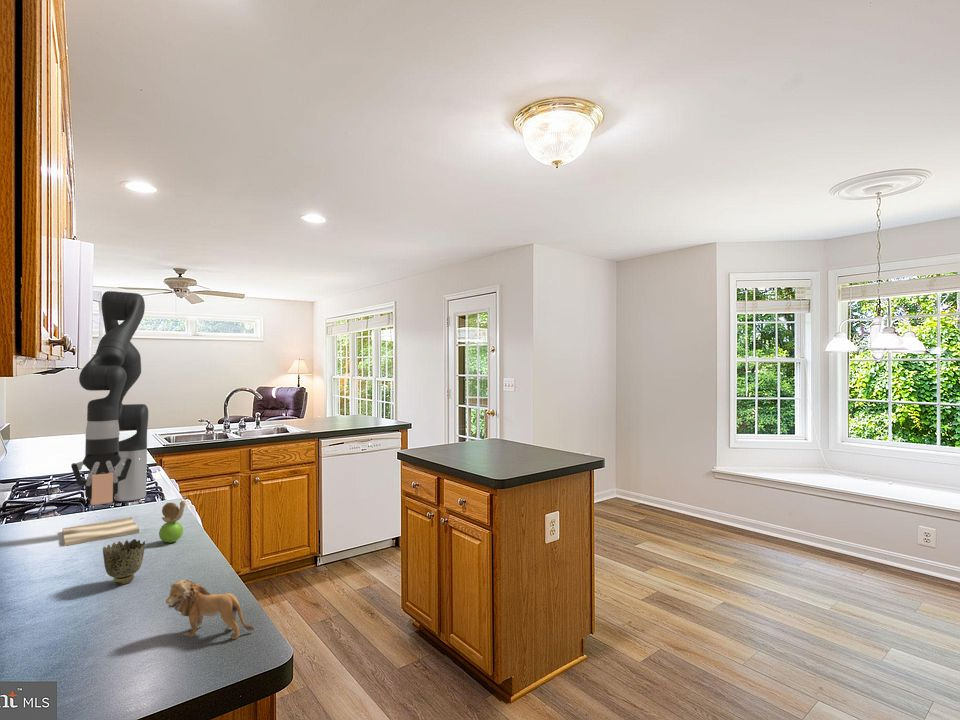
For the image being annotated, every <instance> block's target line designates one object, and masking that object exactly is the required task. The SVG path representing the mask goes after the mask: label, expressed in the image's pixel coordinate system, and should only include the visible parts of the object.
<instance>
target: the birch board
mask: <svg viewBox="0 0 960 720" xmlns="http://www.w3.org/2000/svg"><path fill="white" fill-rule="evenodd" d="M139 533H140V528H139V527H138V525H137V524H136V522H135V520H134V519H133V518H132V517H125V518H120V519H119V518H118V519H113V520H108V521H107V520H106V521H100V522H93V523H87V524H82V525H75V526H69V527H63V528H62V537H63V543H64V547H65V546H72V545H77V544H84V543H89V542H94V541H100V540H106V539H113V538H118V537H123V536H128V535H135V534H139Z"/></svg>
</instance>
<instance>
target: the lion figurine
mask: <svg viewBox="0 0 960 720" xmlns="http://www.w3.org/2000/svg"><path fill="white" fill-rule="evenodd" d="M165 604H166V605H168V609H169V610H170V609H171V610H172V609H174V610H175V611H177V612H180V614H181V616H183V617H188V620H189V621H188V622H189V626H190V627H191V631H188V632H187V633H186V635H188V636H191V637H193V636H192V635H194V636H196V634H197V633H198V629H200V628H199V627H201V626H202V627H203V624H204V616H205V617H215V616H218V615H220V617H221V619H222V620H223V622H224V623H225V625H226V626H227V627H226V628H227V630H230V631H231V630H232V631H233V633H232V634H231V635H230V639H231V640H237V639H238V638H239V637H240V628H239V624H238V620H237V615H238V618H239V620H240V622H241V625H242V626H243V627H244V628H245V629H246V630H247V631H249V632H250V631H254V630H255V627H254V626H252V625H249V624H247V623H246V622H245V619H244V616H243V612H242V608H241V605H240V603H239V599H238V598H237V596H236V595H235V594H233V593H231V592H230V593H229V592H227V593H219V594H218V593H217V594H215V593H210V592H208V590H207V589H206V588H205V587H204V586H203V585H201V584H197V582H195V581H192V580H191V581H190V580H188V579H187V580H186V579H180V580H177V581H175V582H174V583H172V584H170V590H169V595H168V597H167V599H166V600H165ZM202 627H201V628H202ZM197 628H198V629H197ZM188 636H187V637H188Z"/></svg>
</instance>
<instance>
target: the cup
mask: <svg viewBox="0 0 960 720" xmlns="http://www.w3.org/2000/svg"><path fill="white" fill-rule="evenodd" d="M145 546H146V541H145V540H144V541H142V542H141V540H140V539H138V540H137V539H136V538H133V539H132V540H130V541H128V539H127V540H125V541H124V544H123V542H122V541H118V542H117V543H116V542H113V543H112V544H111V545H110V544H108V545H107V547H106V546H103V547H102V557H103V562H104V568H105V571H106V574H107V575H108V576H109V577H111V578H113V580H112V581H113V583H114V585H117V586H118V585H119V586H122V585H126V584H130V583H131V582H133V580H134V579H135V574H136V572H138V571H139V569H141V567H142V565H143V564H142V563H143V559H144V555H145Z"/></svg>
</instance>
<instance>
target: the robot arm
mask: <svg viewBox="0 0 960 720" xmlns="http://www.w3.org/2000/svg"><path fill="white" fill-rule="evenodd" d="M100 304H101V314H102V321H103V326H104V331H105V334H104V335H103V336H102V337H101V338H100V341H99V343H98V346H97V348H96V351H95V354H94V355H93V356H92V357H91V359H90V360H89V361H88V362H87V363H85V365H84V367H83V368H82V369H81V371H80V374H79V377H78V381H79V385H80V387H81V388H82V389H84V390H86V391H93V392H94V391H109V392H108V394H107V395H106V396H105V397H103V398H102V397H101V398H97V399H92V400H89V401H88V403H87V409H86V411H87V414H86V417H87V418H86V425H85V426H86V428H85V436H84V437H85V447H84V448H85V451H84V454H85V456H84V458H83V459H82V461H79V462H74V463H71V464H70V466H71V470H72V472H73V475H74V479H75V481H76V484H77V485H78V486H84V488H85V489H84V490H85V491H84V495H85V498H86V499H88V501H91V499H92V486H91V483H92V475H95V474H98V473H102V472H104V473H108V472H109V473H113V497H114V501H116V502H129V501H131V502H132V501H137V500H141V499H144V498H146V497H147V474H148V473H147V471H148V470H147V469H148V468H147V465H148V463H147V462H148V455H147V454H148V426H149V407H148V406H147V405H146V404H145V403H134V404H133V403H132V404H131V403H130V404H129V403H128V404H126V403H125V404H123V400H124V398H125V396H126V395H127V394H128V392H129V390H130V389H131V388H132V387H133V386H134V385H135V384H136V382H137V381H138V379H139V378H140V376H141V374H142V361H141V360H142V358H141V353H140V352H139V350H138V349H137V348H136V346H135V345H134V344H133V343H132V342H131V340H132V338H133V336H134V335H135V333H136V331H137V330H138V328H139V326H140V324H141V322H142V320H143V317H144V315H145V310H146V309H145V308H146V305H145V299H144V297H143V295H141V294H140V293H135V292H124V291H116V290H115V291H111V290H108V291H104V292H103V294H102V296H101V303H100ZM119 321H121V323H120V324H119ZM120 431H121V432H122V431H123V432H124V431H136V432H135V434H134V435H132V436H131V437H127V438H125V439H122V440H120V434H121V433H120ZM83 466H85V467H86V468H87V469H88V471H89V472H88V473H87V477H86V479H82V478H83V477H82V475H81V473H80V471H81V470H82V468H83Z"/></svg>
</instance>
